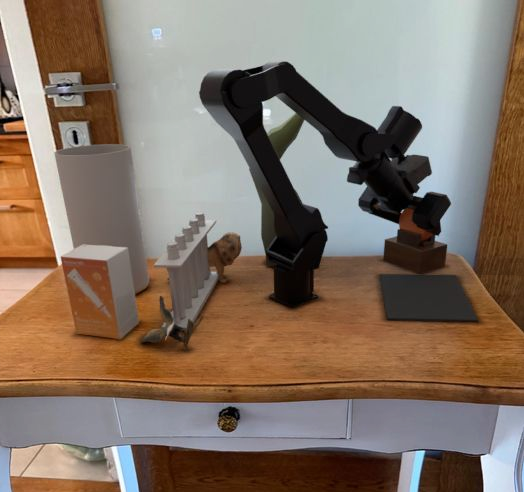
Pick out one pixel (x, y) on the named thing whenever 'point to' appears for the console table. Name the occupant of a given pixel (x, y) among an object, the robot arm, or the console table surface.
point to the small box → (101, 290)
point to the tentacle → (280, 141)
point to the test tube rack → (189, 270)
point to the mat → (425, 298)
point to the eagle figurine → (171, 328)
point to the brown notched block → (414, 252)
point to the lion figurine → (224, 253)
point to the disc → (412, 224)
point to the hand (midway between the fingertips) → (420, 228)
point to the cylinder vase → (104, 201)
